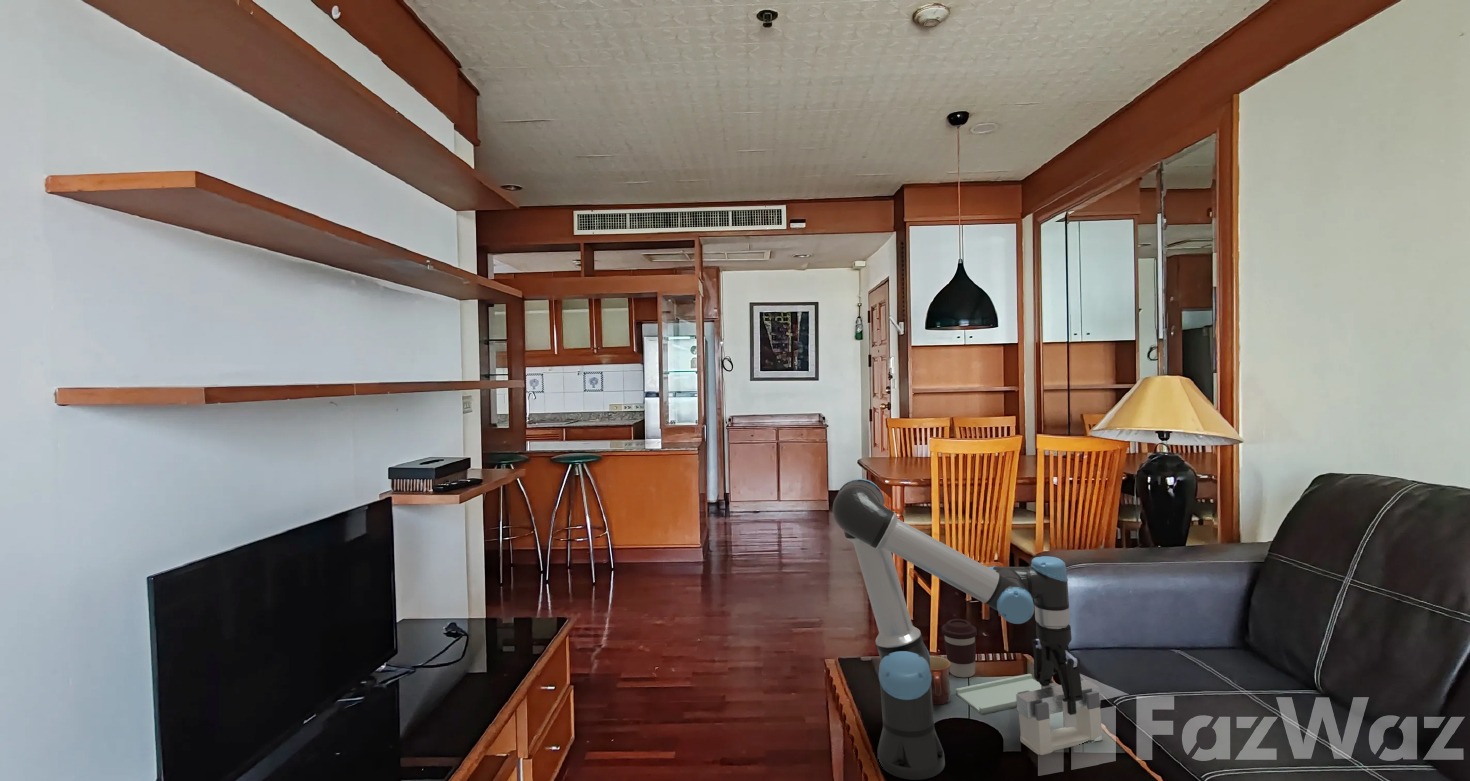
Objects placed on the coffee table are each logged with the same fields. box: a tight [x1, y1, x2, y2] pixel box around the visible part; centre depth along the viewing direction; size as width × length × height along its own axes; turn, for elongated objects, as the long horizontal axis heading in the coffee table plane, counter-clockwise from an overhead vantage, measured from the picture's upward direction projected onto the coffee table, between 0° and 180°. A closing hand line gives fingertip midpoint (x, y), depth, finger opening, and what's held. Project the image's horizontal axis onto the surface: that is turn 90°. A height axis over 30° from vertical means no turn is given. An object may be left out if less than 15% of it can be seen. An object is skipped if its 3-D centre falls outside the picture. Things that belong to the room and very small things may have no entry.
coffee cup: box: [941, 618, 978, 678], centre depth 196 cm, size 10×10×15 cm
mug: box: [930, 655, 951, 706], centre depth 179 cm, size 12×9×10 cm
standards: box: [1018, 691, 1103, 756], centre depth 157 cm, size 18×7×12 cm, turn 104°
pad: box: [955, 673, 1042, 715], centre depth 180 cm, size 24×12×2 cm, turn 104°
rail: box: [1016, 679, 1101, 719], centre depth 157 cm, size 20×4×4 cm, turn 104°
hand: (1059, 718), depth 157 cm, fingers open, 6 cm apart
